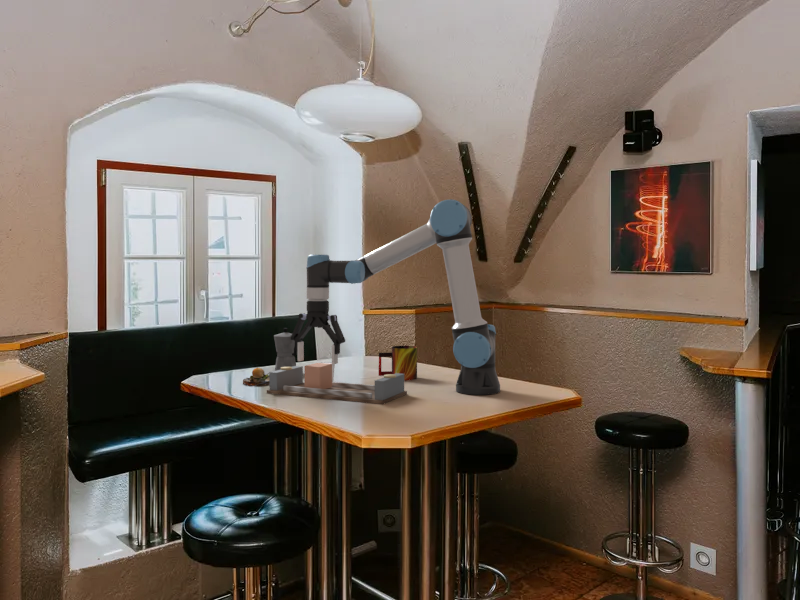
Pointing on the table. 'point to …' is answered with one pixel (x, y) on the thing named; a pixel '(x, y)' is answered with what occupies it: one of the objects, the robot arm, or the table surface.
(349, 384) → the rail track
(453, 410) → the table surface
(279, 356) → the coffeepot
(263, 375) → the burger
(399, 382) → the knobbed grey end panels
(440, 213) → the robot arm
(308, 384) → the salmon pink box
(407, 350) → the mug
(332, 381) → the white cup
